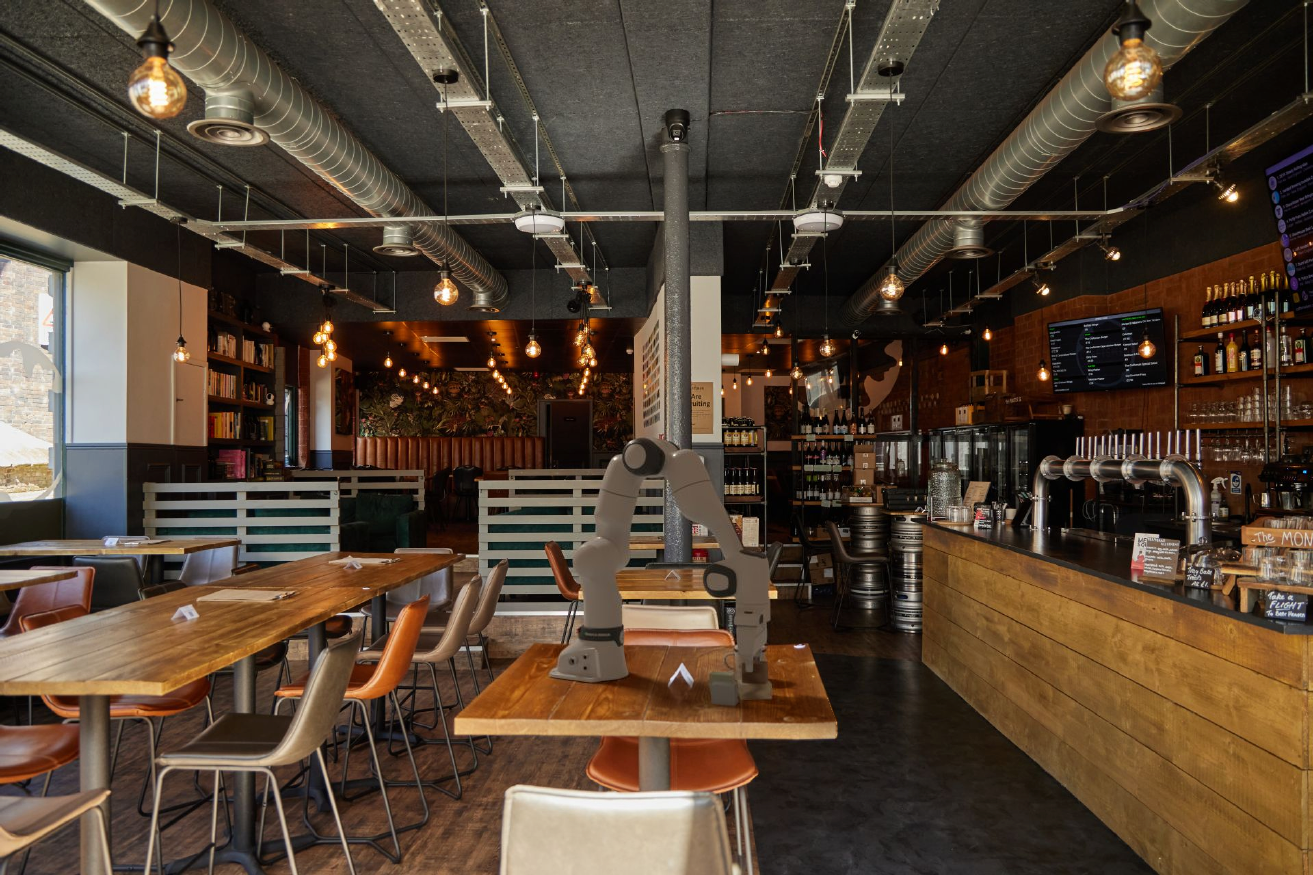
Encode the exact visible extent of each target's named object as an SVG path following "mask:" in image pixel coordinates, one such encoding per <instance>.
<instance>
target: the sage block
mask: <svg viewBox="0 0 1313 875" xmlns="http://www.w3.org/2000/svg"><path fill="white" fill-rule="evenodd" d="M708 676H709V694H711V684H712V683H713V682H714V681H722V682H736V681H735V680H736V679H735V672H733V671H731V672H729V671H711V672H710V673H709V675H708Z"/></svg>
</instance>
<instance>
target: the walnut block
mask: <svg viewBox="0 0 1313 875" xmlns="http://www.w3.org/2000/svg"><path fill="white" fill-rule="evenodd" d="M753 664H754V670H753V671H752V672H746V665H745V661H743V662H742V683H754V684H766V683H767V682H768V680H769V662H768V661H767V660H766V661H753Z"/></svg>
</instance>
